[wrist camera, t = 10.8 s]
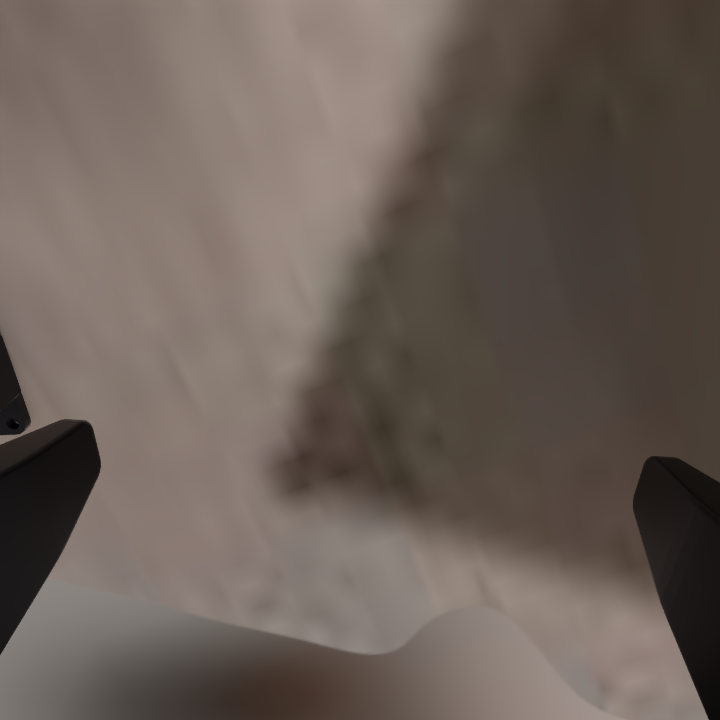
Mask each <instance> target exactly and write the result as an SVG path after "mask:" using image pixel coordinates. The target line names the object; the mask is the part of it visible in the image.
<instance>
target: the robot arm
mask: <svg viewBox="0 0 720 720" xmlns="http://www.w3.org/2000/svg"><path fill="white" fill-rule="evenodd" d="M12 419H14V420H16V421H17V422H18V423H19V424H17V423H15V422H14V421H13V420H12ZM30 423H31V420H30V416H29V413H28V411H27V408H26V405H25V402H24V399H23V396H22V394H21V389H20V386H19V383H18V380H17V377H16V375H15V372H14V369H13V366H12V363H11V360H10V358H9V355H8V352H7V349H6V346H5V343H4V340H3V338H2V336H1V334H0V435H16V434H21V433H22V432H23V431H25V430H26V429H27V428H28V427H29V425H30ZM100 468H101V460H100V455H99V451H98V447H97V443H96V439H95V435H94V431H93V428H92V425H91V424H90V423H89V422H87V421H85V420H71V419H63V420H60V421H57V422H55V423H52V424H50V425H47V426H45V427H43V428H40V429H38V430H35V431H33V432H30V433H28V434H26V435H23V436H21V437H18V438H16V439H14V440H11V441H9V442H6V443H4V444H1V445H0V654H1V653H2V651H3V650H4V648H5V646H6V645H7V643H8V641H9V640H10V638H11V636H12V635H13V633H14V631H15V630H16V628H17V627H18V625H19V623H20V622H21V620H22V618H23V617H24V615H25V613H26V612H27V610H28V609H29V607H30V605H31V603H32V602H33V600H34V599H35V597H36V595H37V594H38V592H39V590H40V589H41V587H42V585H43V584H44V582H45V581H46V579H47V577H48V576H49V574H50V572H51V571H52V569H53V567H54V565H55V564H56V562H57V560H58V559H59V557H60V555H61V553H62V551H63V549H64V547H65V545H66V543H67V541H68V539H69V537H70V535H71V533H72V531H73V529H74V527H75V525H76V522H77V520H78V518H79V516H80V514H81V512H82V510H83V508H84V506H85V503H86V501H87V499H88V497H89V495H90V493H91V491H92V489H93V487H94V484H95V482H96V480H97V478H98V476H99V473H100ZM633 511H634V515H635V518H636V522H637V525H638V529H639V532H640V535H641V539H642V542H643V546H644V549H645V553H646V556H647V559H648V563H649V566H650V570H651V573H652V577H653V580H654V584H655V587H656V590H657V593H658V596H659V599H660V602H661V605H662V607H663V610H664V613H665V615H666V618H667V620H668V623H669V625H670V627H671V630H672V632H673V635H674V637H675V640H676V642H677V644H678V647H679V649H680V652H681V654H682V656H683V659H684V661H685V664H686V666H687V668H688V671H689V673H690V676H691V678H692V681H693V683H694V685H695V688H696V690H697V693H698V695H699V697H700V700H701V702H702V705H703V707H704V709H705V712H706V714H707V717H708V719H709V720H720V483H719V482H718V481H716V480H714V479H713V478H711V477H709V476H708V475H706V474H704V473H703V472H701V471H699V470H697V469H696V468H694V467H692V466H691V465H689V464H687V463H686V462H684V461H682V460H681V459H678V458H675V457H660V456H651V457H649V458H648V459H647V460H646V461H645V463H644V466H643V469H642V472H641V475H640V478H639V481H638V484H637V487H636V491H635V494H634V498H633Z"/></svg>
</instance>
